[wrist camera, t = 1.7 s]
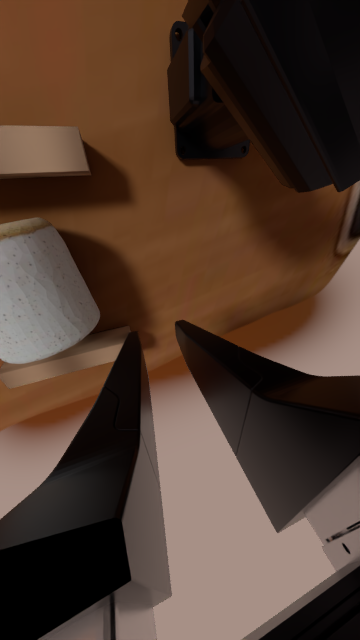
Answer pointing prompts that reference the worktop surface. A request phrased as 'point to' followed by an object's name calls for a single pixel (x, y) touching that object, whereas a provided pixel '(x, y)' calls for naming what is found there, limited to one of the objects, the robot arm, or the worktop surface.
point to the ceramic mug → (40, 294)
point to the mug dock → (53, 161)
